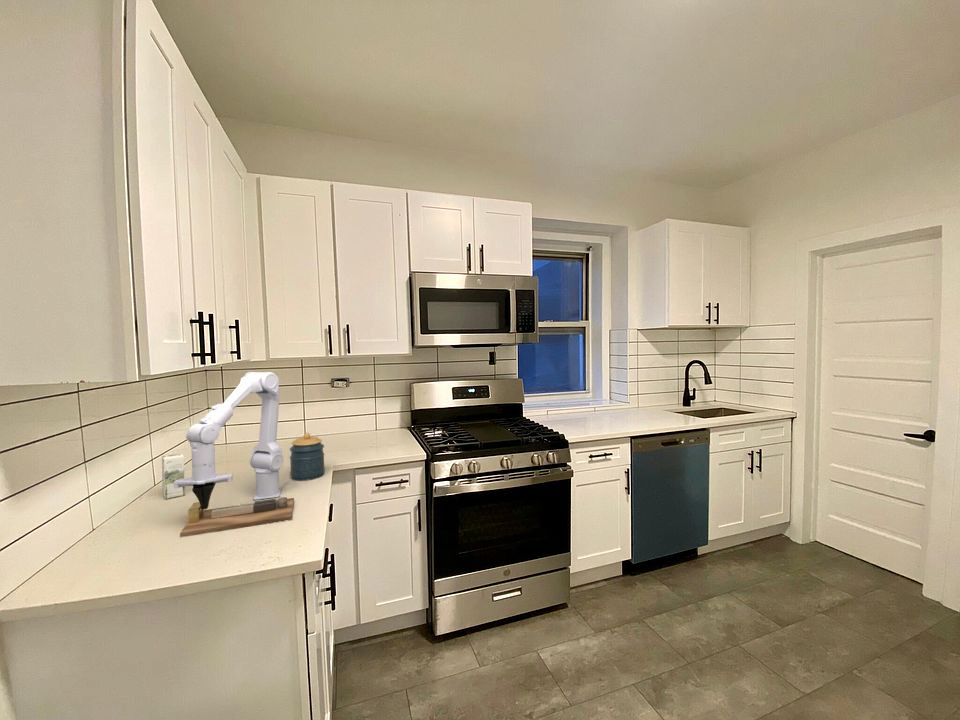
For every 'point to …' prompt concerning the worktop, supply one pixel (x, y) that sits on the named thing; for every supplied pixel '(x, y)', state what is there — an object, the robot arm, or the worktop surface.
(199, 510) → the wooden u-shaped block
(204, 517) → the tong board
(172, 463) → the syrup box
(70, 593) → the worktop surface
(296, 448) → the canister
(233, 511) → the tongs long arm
